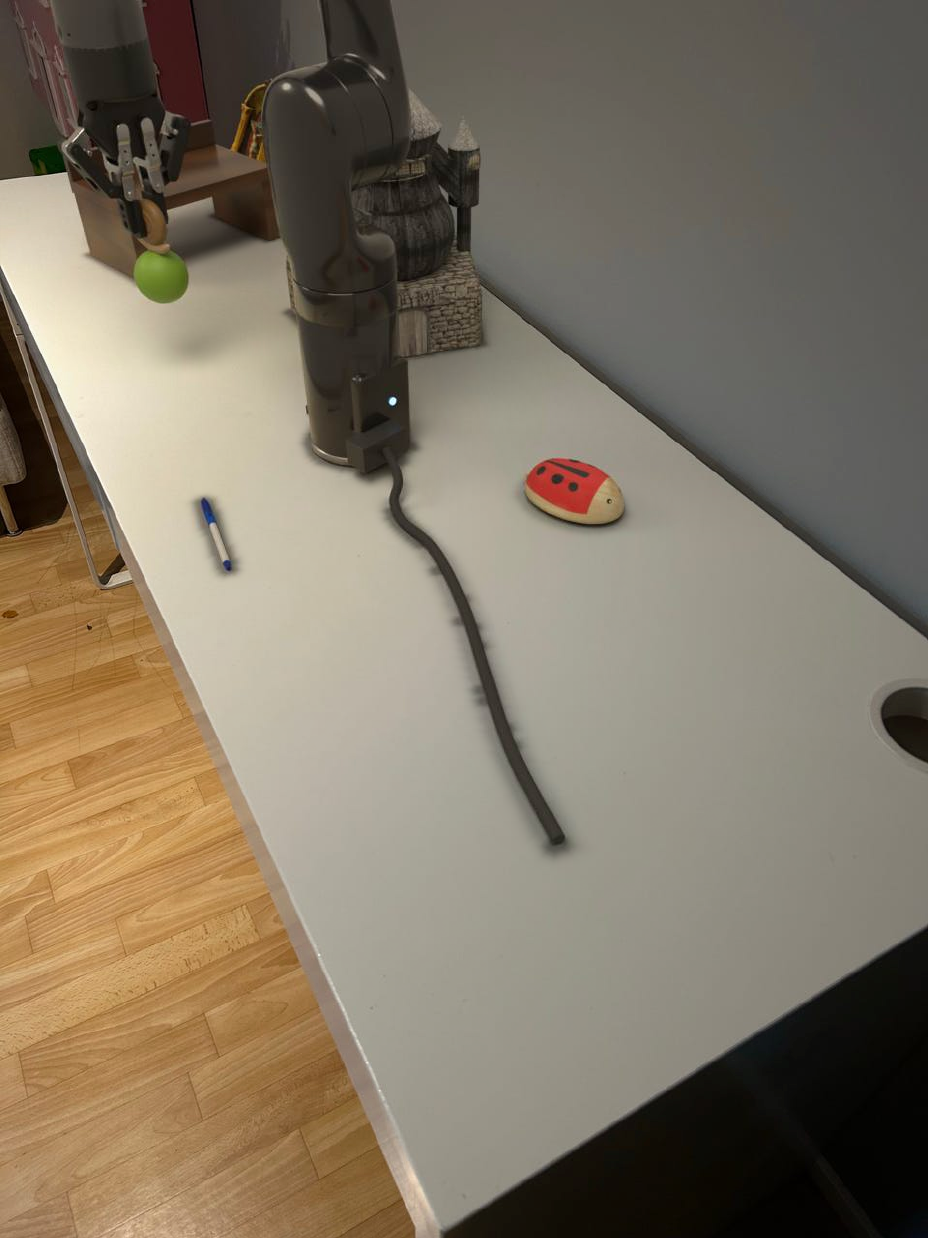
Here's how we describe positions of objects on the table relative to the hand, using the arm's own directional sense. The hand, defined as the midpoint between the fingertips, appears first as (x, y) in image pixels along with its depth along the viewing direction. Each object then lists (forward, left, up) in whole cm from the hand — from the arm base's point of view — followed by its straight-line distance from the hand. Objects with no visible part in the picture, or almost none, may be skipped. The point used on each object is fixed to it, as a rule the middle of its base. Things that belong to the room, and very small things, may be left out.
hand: (148, 232), depth 94 cm
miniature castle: (-10, -24, -15) cm, 30 cm away
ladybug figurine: (-48, -11, -15) cm, 51 cm away
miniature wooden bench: (+28, -20, -15) cm, 38 cm away
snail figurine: (0, 0, -7) cm, 7 cm away
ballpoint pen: (-28, +15, -15) cm, 35 cm away
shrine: (+40, -40, -15) cm, 59 cm away
